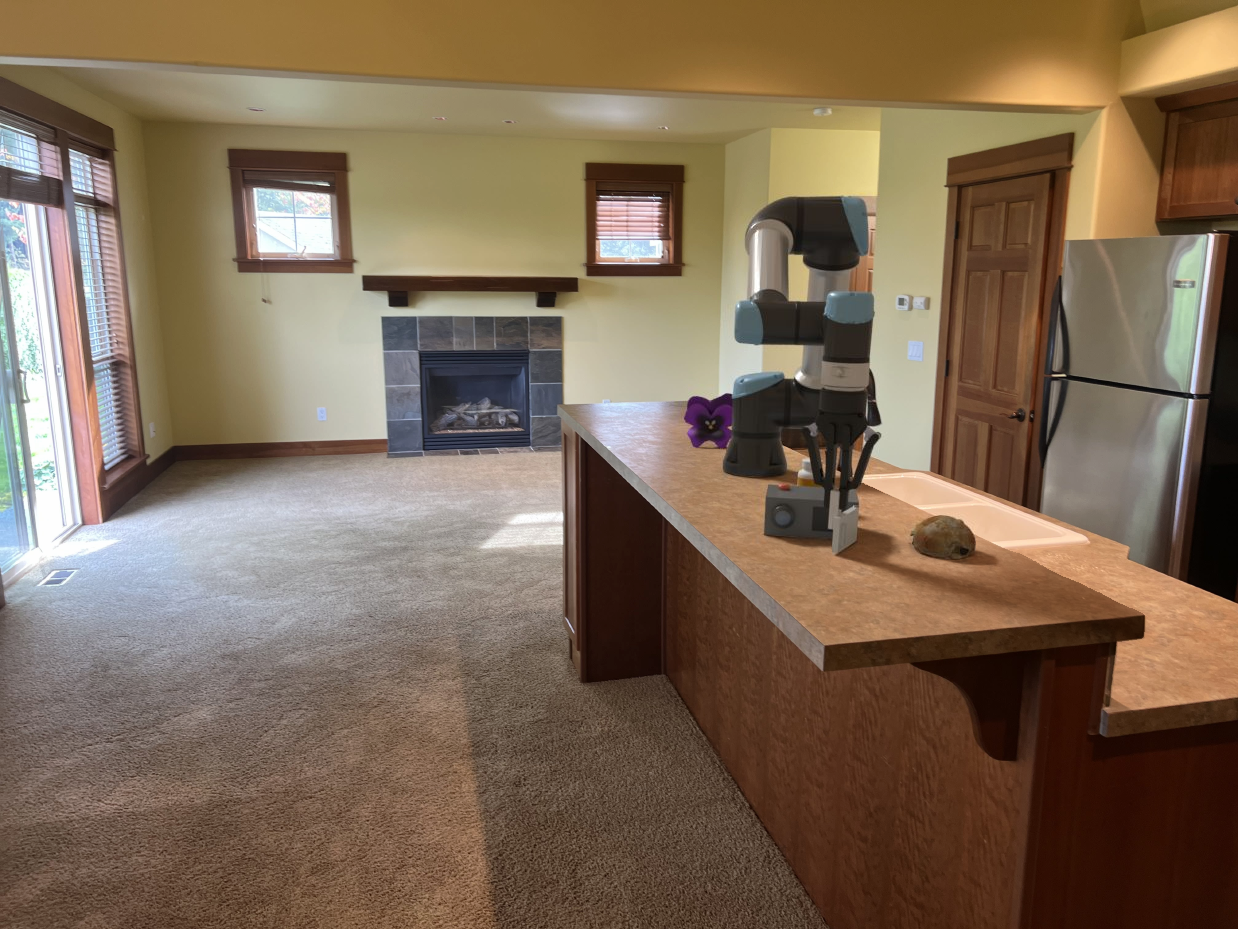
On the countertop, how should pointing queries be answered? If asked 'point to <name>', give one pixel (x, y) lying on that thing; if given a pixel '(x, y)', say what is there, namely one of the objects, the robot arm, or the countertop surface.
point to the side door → (845, 529)
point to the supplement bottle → (807, 475)
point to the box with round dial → (799, 511)
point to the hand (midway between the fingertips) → (834, 527)
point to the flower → (709, 420)
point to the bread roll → (943, 537)
